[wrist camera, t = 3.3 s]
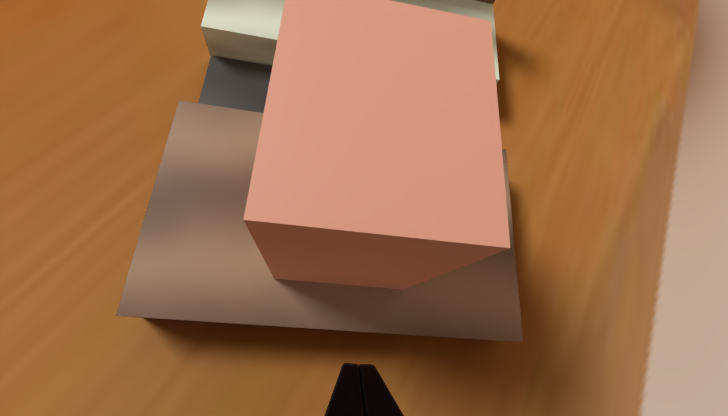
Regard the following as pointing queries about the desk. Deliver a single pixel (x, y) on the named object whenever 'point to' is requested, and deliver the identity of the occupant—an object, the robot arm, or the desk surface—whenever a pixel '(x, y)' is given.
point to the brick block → (378, 146)
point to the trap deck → (235, 243)
